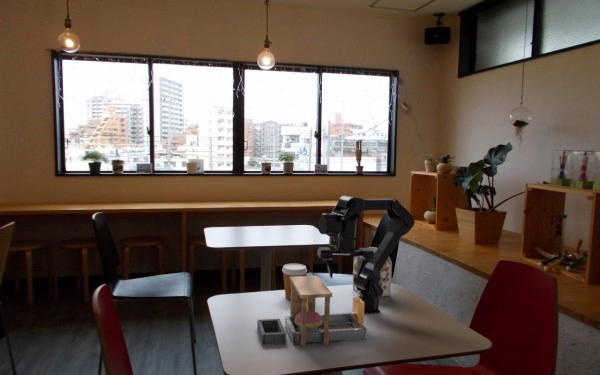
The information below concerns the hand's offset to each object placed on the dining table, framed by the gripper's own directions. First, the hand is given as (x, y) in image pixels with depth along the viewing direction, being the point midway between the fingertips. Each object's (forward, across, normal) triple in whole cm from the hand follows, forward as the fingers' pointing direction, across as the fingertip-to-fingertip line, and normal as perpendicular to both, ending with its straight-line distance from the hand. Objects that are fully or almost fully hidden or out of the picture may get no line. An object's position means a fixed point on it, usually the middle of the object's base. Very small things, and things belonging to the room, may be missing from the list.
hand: (344, 278), depth 147 cm
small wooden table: (+14, +14, +14) cm, 24 cm away
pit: (+14, +26, +14) cm, 32 cm away
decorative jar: (+13, -18, -22) cm, 31 cm away
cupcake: (+14, +14, +14) cm, 24 cm away
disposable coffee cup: (+14, +14, -19) cm, 27 cm away
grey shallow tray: (+13, +9, +13) cm, 21 cm away
